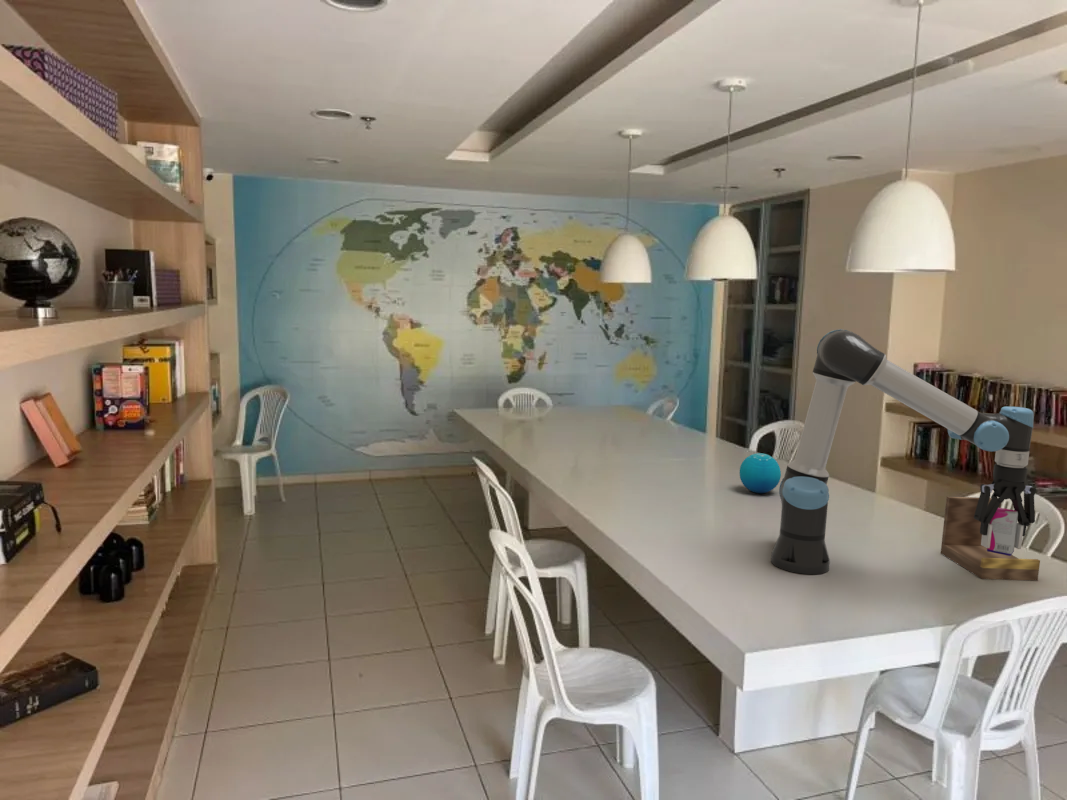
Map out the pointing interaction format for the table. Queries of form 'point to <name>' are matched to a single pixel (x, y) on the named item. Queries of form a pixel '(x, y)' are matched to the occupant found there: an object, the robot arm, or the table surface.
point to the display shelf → (979, 545)
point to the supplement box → (1003, 531)
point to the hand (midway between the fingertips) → (1000, 546)
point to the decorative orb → (760, 473)
